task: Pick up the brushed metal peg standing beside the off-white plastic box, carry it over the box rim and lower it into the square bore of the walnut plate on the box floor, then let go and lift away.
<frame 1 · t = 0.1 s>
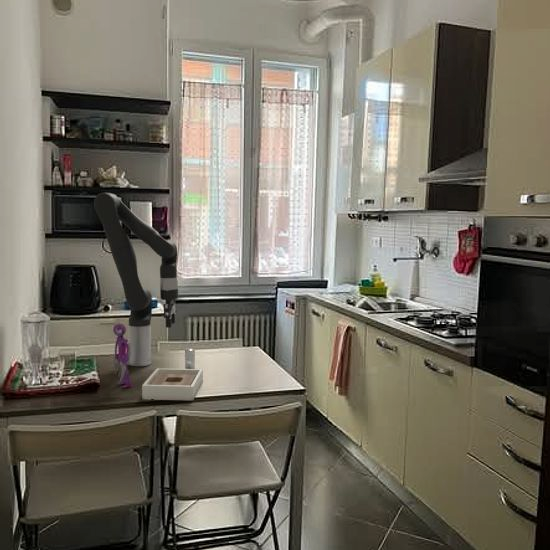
hand: (170, 325, 244), 17 cm above the table, tool pointing down, fingers open, 8 cm apart
box: (174, 390, 211), on the table
peg: (189, 373, 233), on the table
toy: (120, 386, 215), on the table
bore plate: (174, 383, 211), in the box, point 2 cm above the table
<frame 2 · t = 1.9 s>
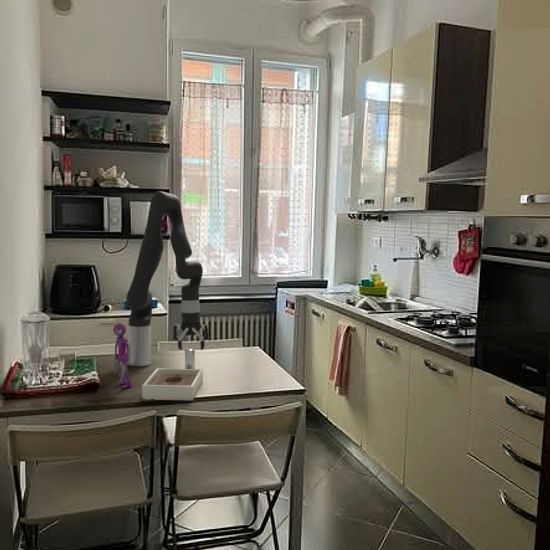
hand: (191, 349, 232), 10 cm above the table, tool pointing down, fingers open, 8 cm apart
nothing on the table moved.
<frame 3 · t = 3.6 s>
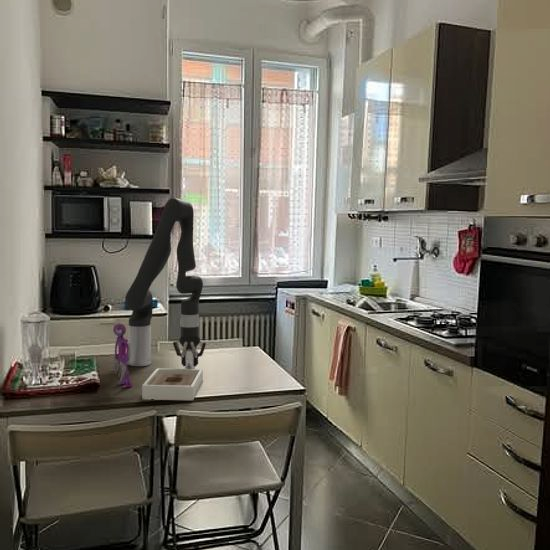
hand: (189, 365, 232), 3 cm above the table, tool pointing down, fingers closed on peg, 4 cm apart
peg: (189, 373, 233), on the table, touching gripper
everything else where it was.
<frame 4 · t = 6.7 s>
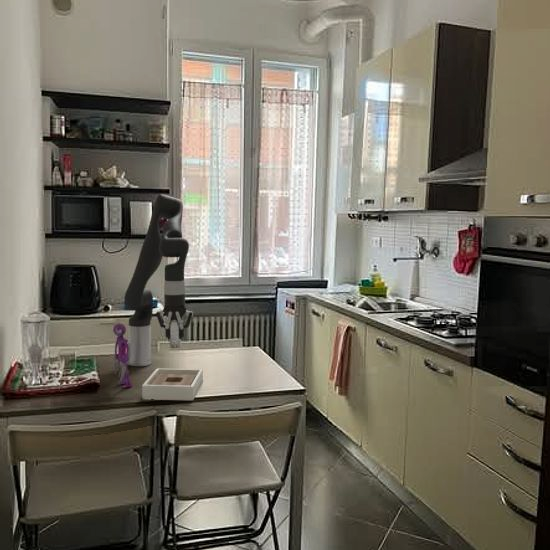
hand: (175, 338, 209), 19 cm above the table, tool pointing down, fingers closed on peg, 4 cm apart
peg: (175, 347, 210), point 16 cm above the table, touching gripper
everything else where it was.
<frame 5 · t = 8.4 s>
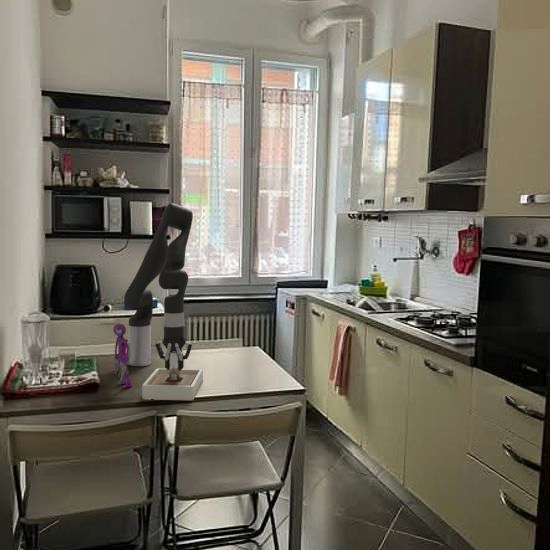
hand: (174, 369, 210), 8 cm above the table, tool pointing down, fingers closed on peg, 4 cm apart
peg: (174, 378, 211), point 5 cm above the table, touching gripper
everything else where it was.
when the fingers open (5 cm above the table, at t = 9.9 s): peg stays where it is, resting on box.
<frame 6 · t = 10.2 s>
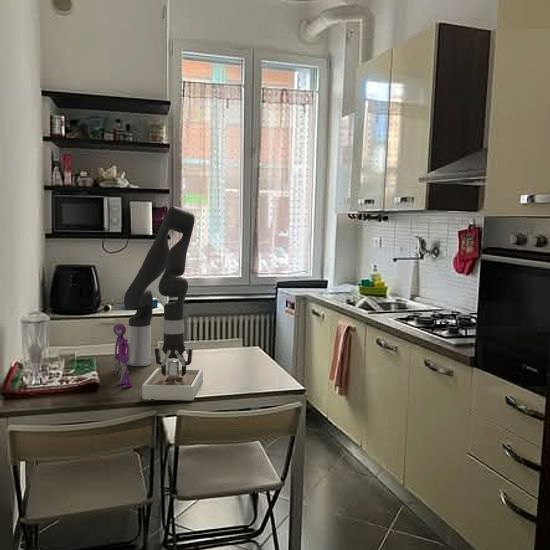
hand: (173, 375, 210), 6 cm above the table, tool pointing down, fingers open, 6 cm apart
peg: (173, 387, 211), point 1 cm above the table, touching box
everything else where it was.
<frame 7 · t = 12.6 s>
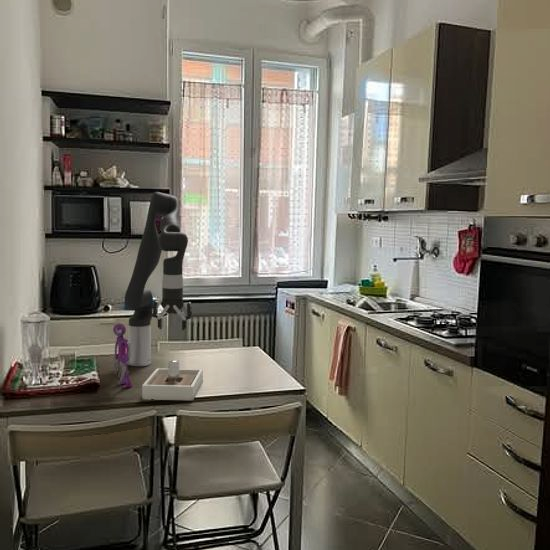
hand: (172, 329, 211), 22 cm above the table, tool pointing down, fingers open, 8 cm apart
nothing on the table moved.
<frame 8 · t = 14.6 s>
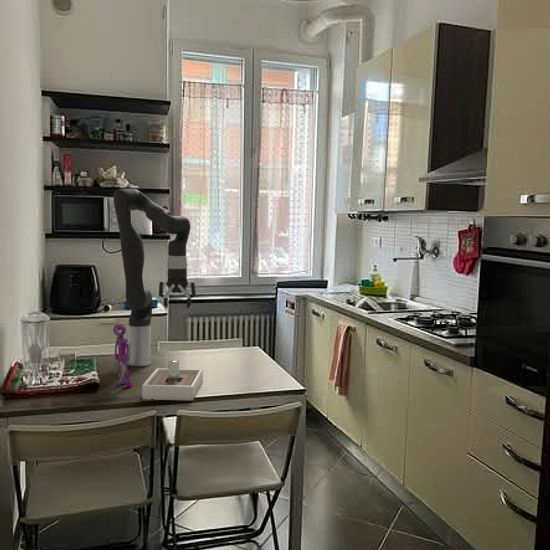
hand: (177, 307, 225), 28 cm above the table, tool pointing down, fingers open, 8 cm apart
nothing on the table moved.
at the end: peg 0.1 cm off-centre on the bore plate, point 1.0 cm above the bore plate's base; peg tilted 0°; the gripper is holding nothing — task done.
